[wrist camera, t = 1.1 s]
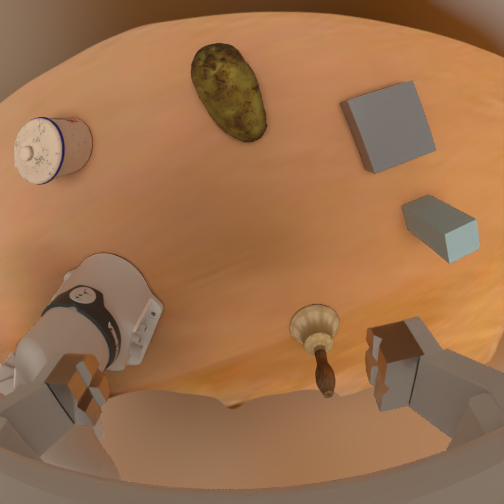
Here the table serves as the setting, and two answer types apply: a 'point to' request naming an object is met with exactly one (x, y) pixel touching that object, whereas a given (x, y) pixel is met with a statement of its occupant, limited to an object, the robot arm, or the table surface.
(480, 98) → the table surface
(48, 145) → the teacup with lid
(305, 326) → the hand bell
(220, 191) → the table surface
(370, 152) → the slate slab
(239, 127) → the potato
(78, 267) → the robot arm
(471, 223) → the teal block
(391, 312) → the table surface
